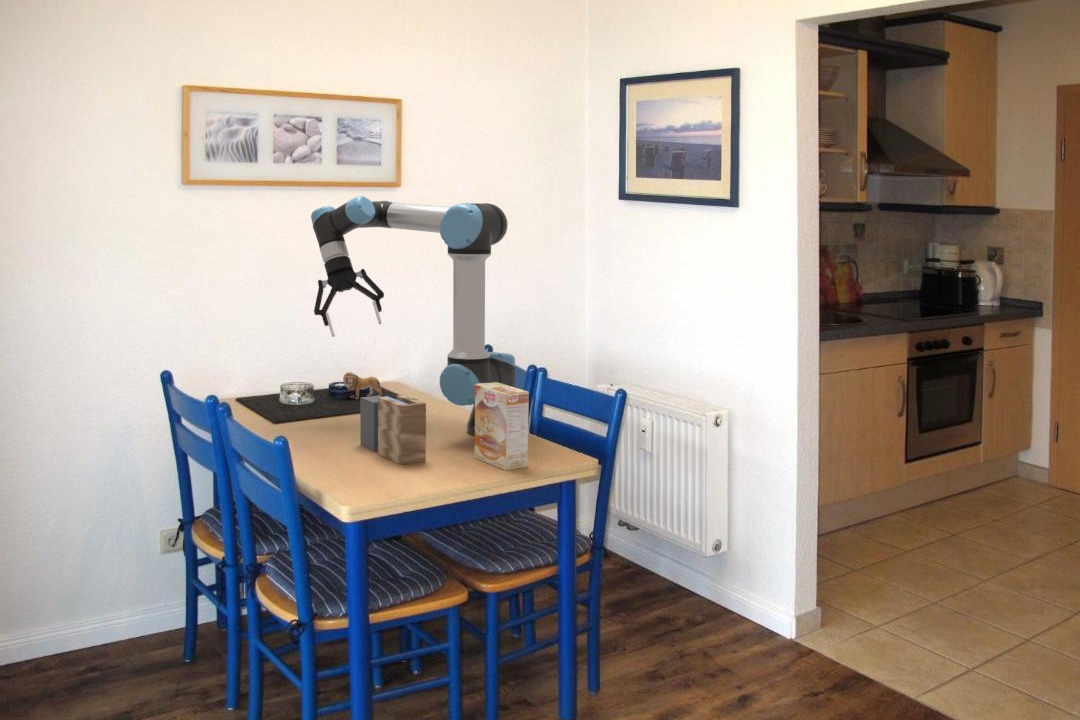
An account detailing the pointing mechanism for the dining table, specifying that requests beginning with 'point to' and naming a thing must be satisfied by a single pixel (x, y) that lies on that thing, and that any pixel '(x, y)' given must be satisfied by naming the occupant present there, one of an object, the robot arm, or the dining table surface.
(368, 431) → the block
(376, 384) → the lion figurine
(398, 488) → the dining table surface
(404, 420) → the box
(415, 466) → the dining table surface
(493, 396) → the coffeecake box
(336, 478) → the dining table surface
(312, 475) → the dining table surface
